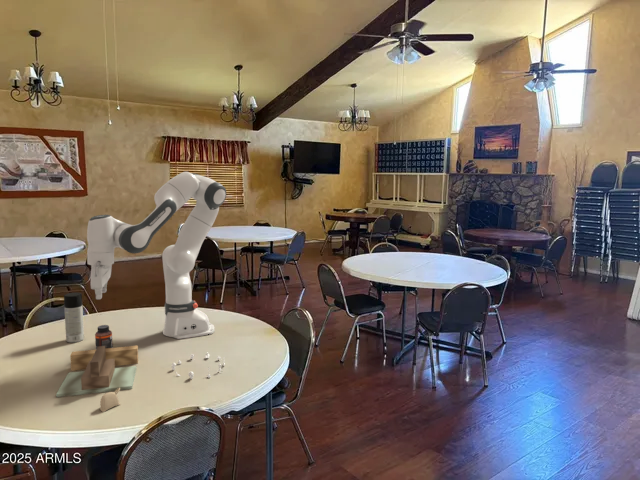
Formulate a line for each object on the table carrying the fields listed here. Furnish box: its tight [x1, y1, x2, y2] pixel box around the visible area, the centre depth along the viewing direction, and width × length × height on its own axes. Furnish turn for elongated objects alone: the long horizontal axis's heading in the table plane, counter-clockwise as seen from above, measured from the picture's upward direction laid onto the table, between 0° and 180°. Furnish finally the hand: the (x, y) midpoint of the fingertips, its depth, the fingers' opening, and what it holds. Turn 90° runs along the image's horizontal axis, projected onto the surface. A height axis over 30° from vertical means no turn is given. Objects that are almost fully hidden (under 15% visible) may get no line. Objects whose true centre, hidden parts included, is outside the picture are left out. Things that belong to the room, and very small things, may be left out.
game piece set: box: [171, 352, 226, 380], centre depth 161 cm, size 19×20×4 cm
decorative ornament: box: [99, 388, 122, 413], centre depth 133 cm, size 3×7×4 cm, turn 145°
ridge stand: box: [55, 346, 137, 398], centre depth 148 cm, size 22×16×10 cm
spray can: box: [63, 292, 85, 343], centre depth 184 cm, size 7×7×20 cm
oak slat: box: [70, 345, 139, 372], centre depth 162 cm, size 22×4×6 cm, turn 110°
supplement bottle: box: [94, 324, 114, 350], centre depth 171 cm, size 6×6×11 cm
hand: (101, 295), depth 163 cm, fingers open, 8 cm apart
